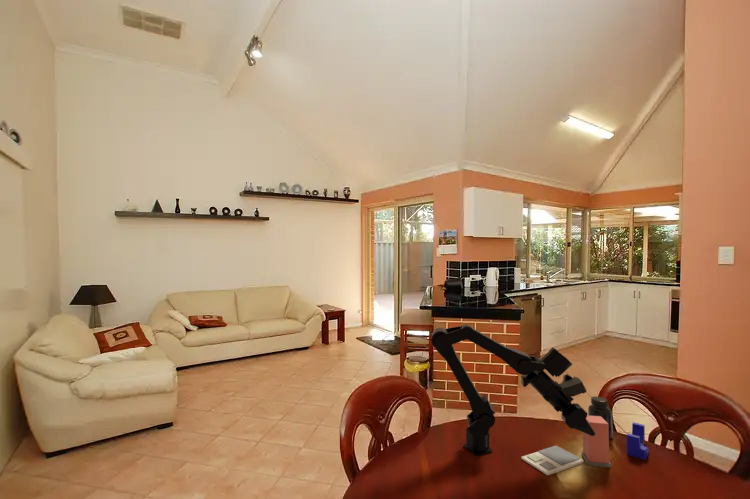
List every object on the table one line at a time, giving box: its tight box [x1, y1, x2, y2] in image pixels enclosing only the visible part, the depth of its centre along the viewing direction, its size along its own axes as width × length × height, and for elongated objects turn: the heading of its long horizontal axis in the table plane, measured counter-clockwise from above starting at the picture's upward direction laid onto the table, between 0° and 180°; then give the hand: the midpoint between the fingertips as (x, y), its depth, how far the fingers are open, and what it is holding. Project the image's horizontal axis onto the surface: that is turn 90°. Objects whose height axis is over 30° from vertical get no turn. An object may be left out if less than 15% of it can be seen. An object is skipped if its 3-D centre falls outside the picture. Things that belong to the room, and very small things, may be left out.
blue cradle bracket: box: [626, 422, 649, 461], centre depth 111 cm, size 12×4×6 cm, turn 137°
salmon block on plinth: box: [581, 414, 612, 468], centre depth 105 cm, size 6×6×12 cm
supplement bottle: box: [587, 396, 614, 440], centre depth 120 cm, size 7×7×12 cm
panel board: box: [520, 445, 585, 476], centre depth 104 cm, size 15×9×1 cm, turn 115°
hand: (587, 427), depth 105 cm, fingers open, 9 cm apart
